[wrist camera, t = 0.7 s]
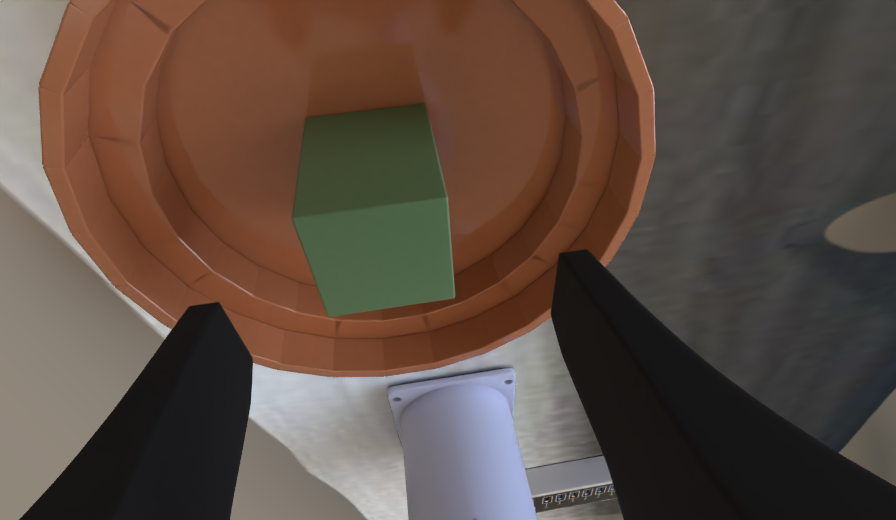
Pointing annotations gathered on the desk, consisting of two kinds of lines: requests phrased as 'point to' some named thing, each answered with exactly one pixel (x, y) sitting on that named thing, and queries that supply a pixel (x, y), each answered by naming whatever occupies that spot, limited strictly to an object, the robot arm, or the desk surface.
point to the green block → (374, 210)
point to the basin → (279, 146)
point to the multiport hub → (570, 484)
